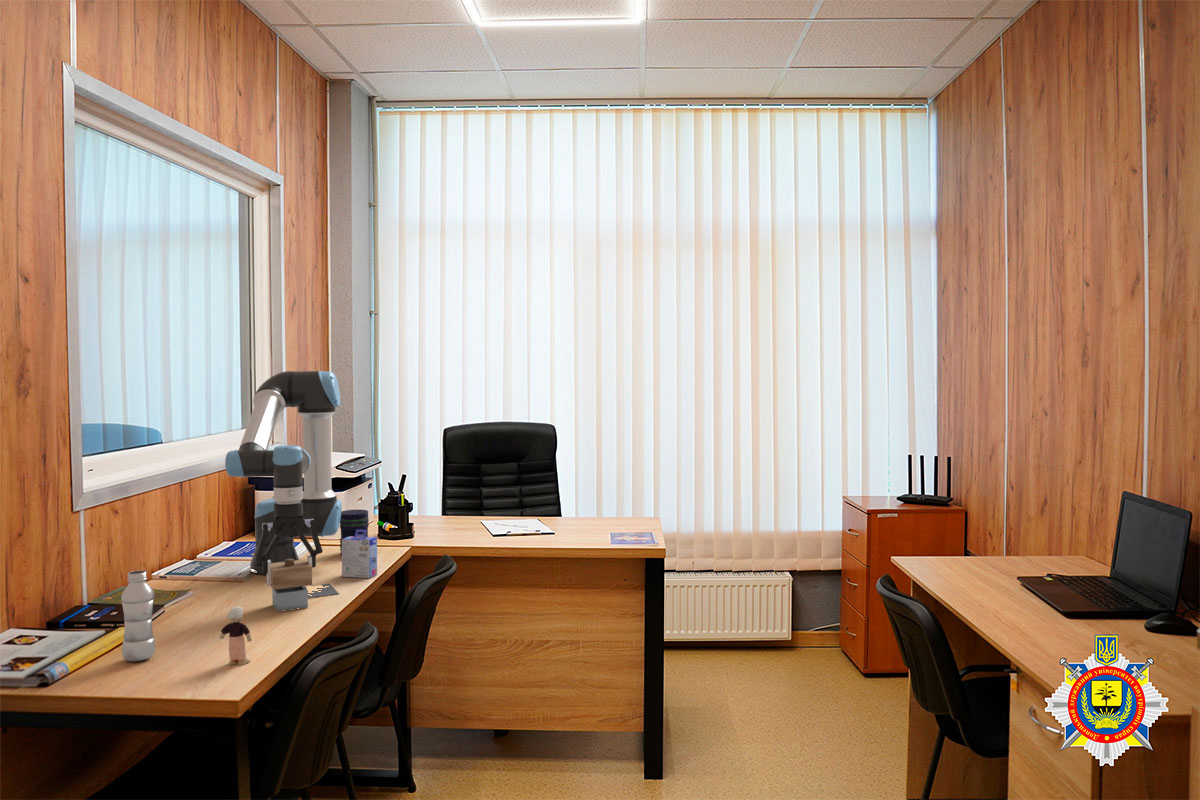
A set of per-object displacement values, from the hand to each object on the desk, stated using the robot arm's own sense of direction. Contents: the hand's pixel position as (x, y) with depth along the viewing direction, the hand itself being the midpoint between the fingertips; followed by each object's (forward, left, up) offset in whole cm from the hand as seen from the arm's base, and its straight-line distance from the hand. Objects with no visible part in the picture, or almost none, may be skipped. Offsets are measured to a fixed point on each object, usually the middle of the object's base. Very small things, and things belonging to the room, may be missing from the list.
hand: (289, 581), depth 230 cm
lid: (0, 0, 0) cm, 0 cm away
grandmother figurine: (+40, -18, -7) cm, 44 cm away
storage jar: (-56, +31, -7) cm, 64 cm away
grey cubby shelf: (0, 0, -7) cm, 7 cm away
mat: (-12, +8, -7) cm, 16 cm away
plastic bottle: (+27, -37, -7) cm, 46 cm away
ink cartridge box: (-24, +25, -7) cm, 35 cm away
